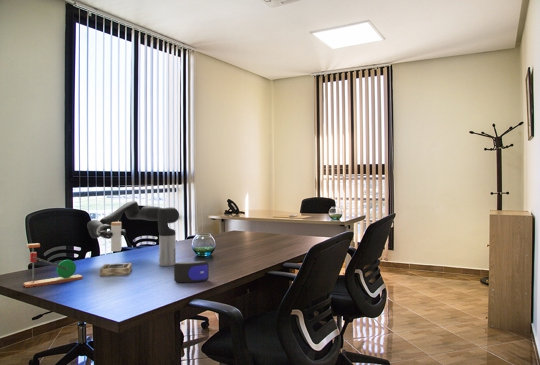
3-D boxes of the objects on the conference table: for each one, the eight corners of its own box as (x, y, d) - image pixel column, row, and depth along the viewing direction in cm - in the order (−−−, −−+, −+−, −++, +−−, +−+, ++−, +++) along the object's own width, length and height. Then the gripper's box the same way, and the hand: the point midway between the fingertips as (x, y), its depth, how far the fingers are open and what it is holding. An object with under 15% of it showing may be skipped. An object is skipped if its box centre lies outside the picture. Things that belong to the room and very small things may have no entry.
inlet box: (131, 269, 224) (131, 262, 224) (128, 274, 210) (128, 267, 210) (104, 270, 220) (104, 263, 220) (100, 276, 207) (99, 268, 207)
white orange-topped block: (121, 249, 218) (121, 221, 218) (120, 251, 214) (120, 222, 214) (112, 250, 217) (112, 222, 217) (111, 251, 213) (111, 222, 213)
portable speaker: (174, 284, 189) (174, 264, 189) (174, 282, 194) (174, 262, 194) (209, 282, 193) (209, 262, 193) (208, 280, 197) (208, 260, 197)
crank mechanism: (26, 288, 184) (26, 245, 184) (22, 285, 188) (22, 244, 189) (83, 279, 201) (83, 240, 201) (78, 276, 206) (78, 239, 206)
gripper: (92, 225, 221) (104, 227, 209) (118, 223, 231) (131, 225, 218) (92, 239, 221) (104, 242, 209) (118, 236, 231) (131, 239, 218)
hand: (118, 233), depth 214 cm, fingers closed on white orange-topped block, 6 cm apart
